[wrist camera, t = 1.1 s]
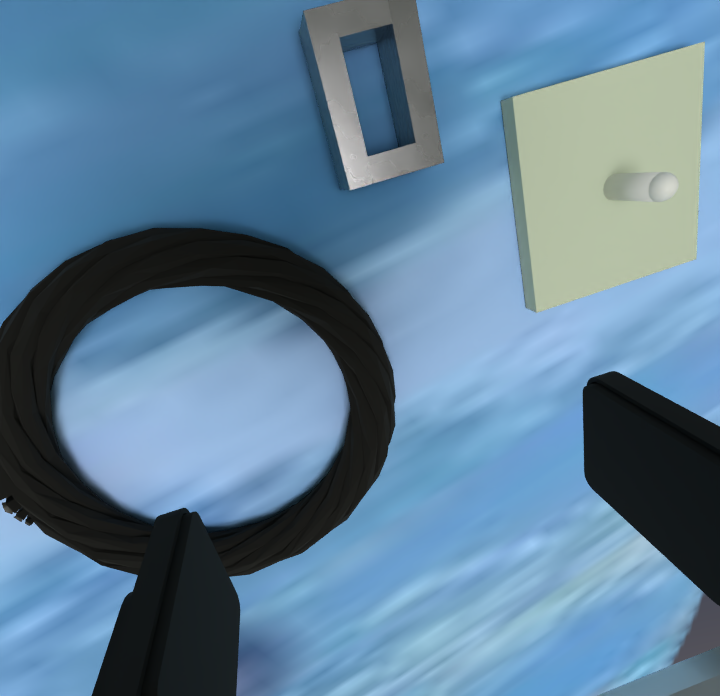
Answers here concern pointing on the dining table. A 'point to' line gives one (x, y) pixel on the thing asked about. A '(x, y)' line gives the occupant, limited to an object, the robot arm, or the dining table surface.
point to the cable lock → (168, 270)
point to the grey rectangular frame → (402, 77)
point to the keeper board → (606, 175)
